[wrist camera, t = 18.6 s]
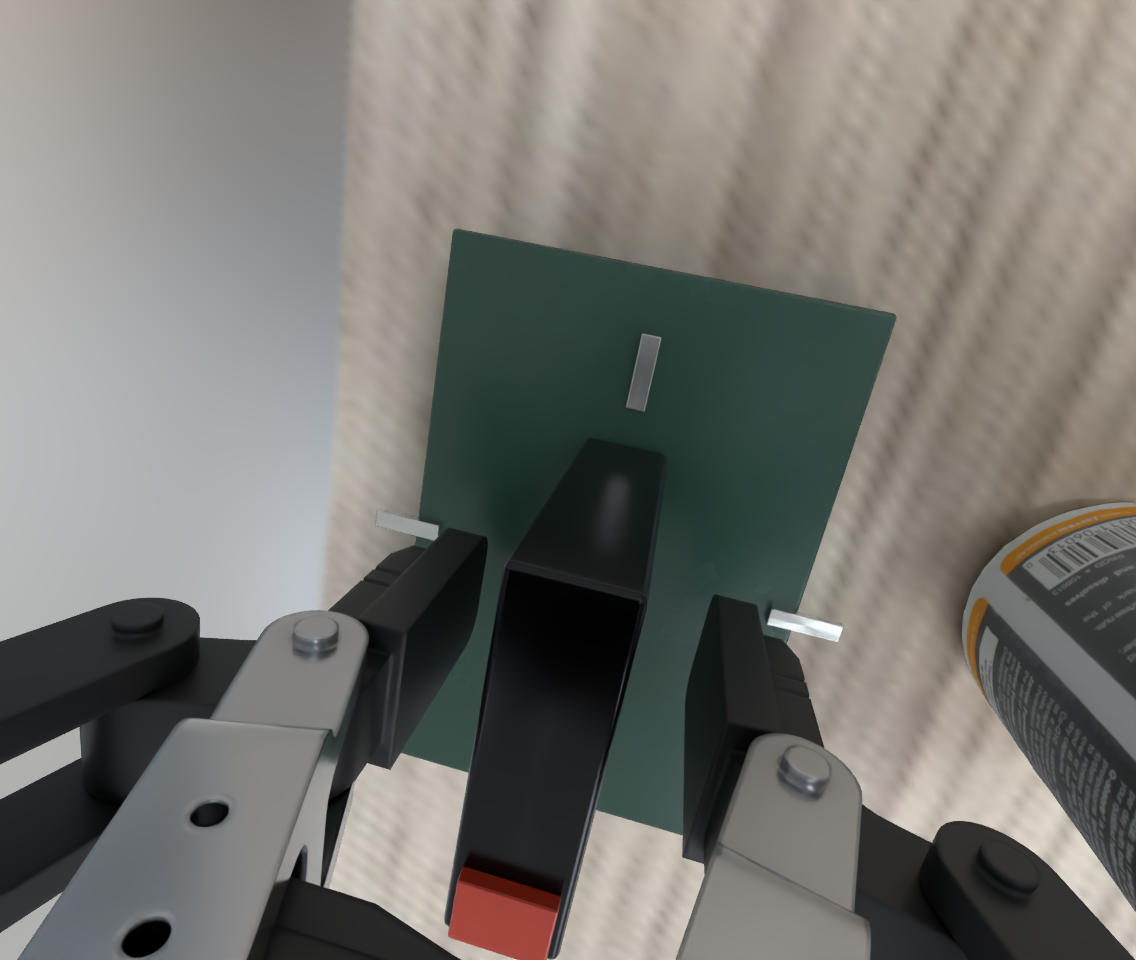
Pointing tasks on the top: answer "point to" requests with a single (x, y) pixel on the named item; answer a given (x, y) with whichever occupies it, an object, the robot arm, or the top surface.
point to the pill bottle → (1068, 667)
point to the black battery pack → (554, 700)
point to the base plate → (650, 422)
